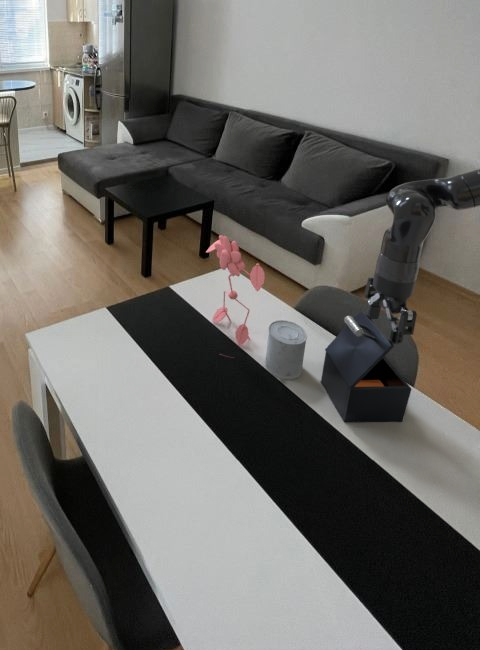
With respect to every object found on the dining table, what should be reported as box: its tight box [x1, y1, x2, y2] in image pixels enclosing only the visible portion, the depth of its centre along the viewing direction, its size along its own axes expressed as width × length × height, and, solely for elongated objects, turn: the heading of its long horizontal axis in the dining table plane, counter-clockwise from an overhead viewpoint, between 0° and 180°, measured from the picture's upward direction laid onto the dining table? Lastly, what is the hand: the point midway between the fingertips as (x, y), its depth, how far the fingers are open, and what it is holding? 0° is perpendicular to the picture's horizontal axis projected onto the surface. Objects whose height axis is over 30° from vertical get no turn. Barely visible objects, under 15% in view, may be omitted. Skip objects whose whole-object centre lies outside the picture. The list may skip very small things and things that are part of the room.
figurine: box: [205, 234, 266, 359], centre depth 128 cm, size 15×26×35 cm, turn 19°
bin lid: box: [324, 309, 395, 389], centre depth 103 cm, size 14×12×6 cm
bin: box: [320, 351, 412, 424], centre depth 107 cm, size 14×12×11 cm
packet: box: [355, 380, 384, 387], centre depth 108 cm, size 7×5×4 cm, turn 87°
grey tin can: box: [264, 319, 308, 380], centre depth 119 cm, size 10×10×12 cm
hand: (383, 330), depth 101 cm, fingers open, 8 cm apart
